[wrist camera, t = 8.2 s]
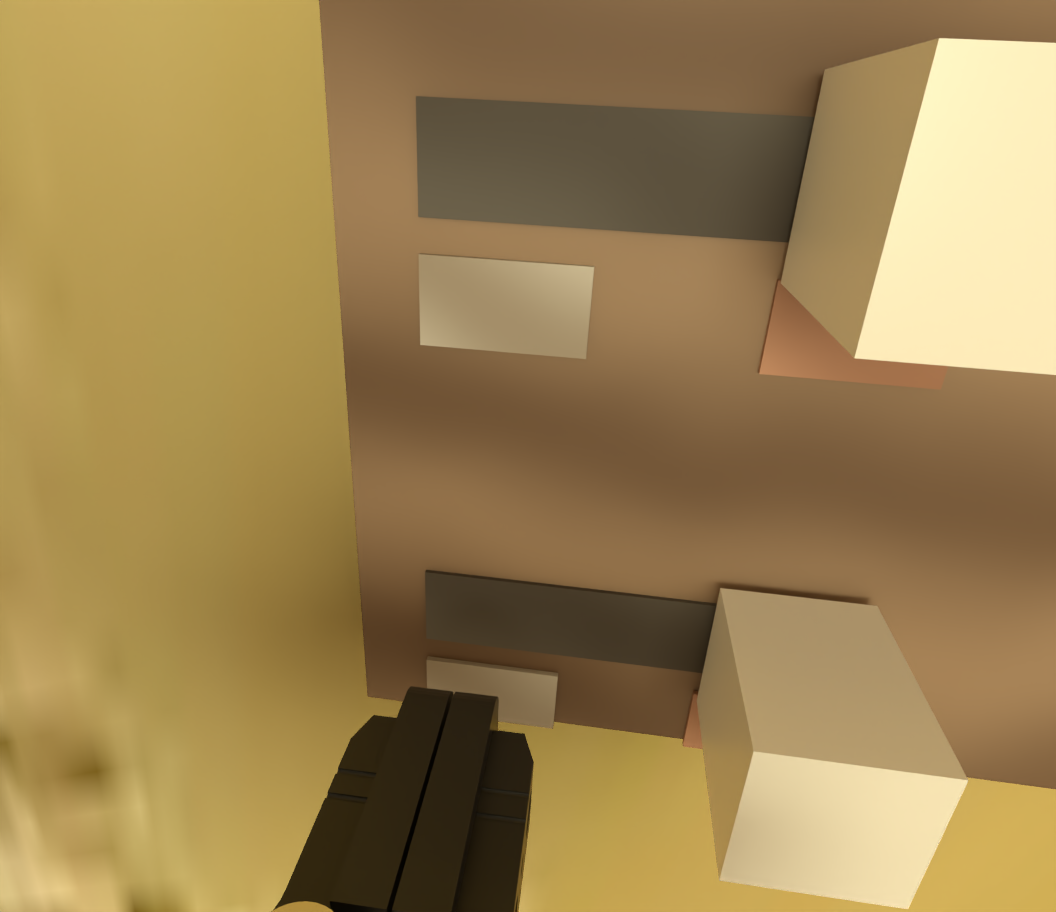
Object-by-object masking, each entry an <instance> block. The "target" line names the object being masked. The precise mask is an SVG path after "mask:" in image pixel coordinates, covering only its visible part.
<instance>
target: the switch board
mask: <svg viewBox="0 0 1056 912" xmlns="http://www.w3.org/2000/svg"><path fill="white" fill-rule="evenodd" d="M319 5H320V20H321V34H322V48H323V63H324V77H325V91H326V106H327V120H328V134H329V149H330V163H331V177H332V192H333V206H334V220H335V234H336V249H337V263H338V277H339V292H340V306H341V320H342V335H343V349H344V363H345V378H346V392H347V406H348V421H349V435H350V449H351V464H352V478H353V492H354V507H355V521H356V535H357V550H358V564H359V578H360V593H361V607H362V621H363V635H364V650H365V664H366V678H367V693H368V697H375V698H383V699H390V700H397V701H403V700H404V698H405V695H406V692H407V690H408V689H409V687H411V686H413V687H421V688H430V689H438V690H446V691H453V692H454V693H455V692H464V693H472V694H481V695H489V696H497V697H498V699H499V708H498V721H500V722H508V723H515V724H522V725H530V726H537V727H545V728H552V729H553V725H554V722H561V723H568V724H576V725H583V726H590V727H598V728H605V729H613V730H620V731H628V732H635V733H642V734H650V735H657V736H665V737H672V738H680V739H683V746H685V747H692V748H699V749H703V747H702V739H701V730H700V722H699V714H698V706H697V697H698V692H699V688H700V683H701V678H702V673H703V668H704V664H705V659H706V654H707V649H708V645H709V640H710V635H711V630H712V625H713V621H714V616H715V611H716V606H717V601H718V597H719V592H720V588H725V589H734V590H742V591H751V592H760V593H769V594H777V595H786V596H795V597H804V598H812V599H821V600H830V601H838V602H847V603H856V604H865V605H873V606H878V608H879V610H880V612H881V614H882V616H883V618H884V620H885V622H886V624H887V625H888V627H889V629H890V631H891V633H892V635H893V637H894V639H895V641H896V643H897V645H898V647H899V648H900V650H901V652H902V654H903V656H904V658H905V660H906V662H907V664H908V666H909V668H910V669H911V671H912V673H913V675H914V677H915V679H916V681H917V683H918V685H919V687H920V689H921V691H922V692H923V694H924V696H925V698H926V700H927V702H928V704H929V706H930V708H931V710H932V712H933V713H934V715H935V717H936V719H937V721H938V723H939V725H940V727H941V729H942V731H943V733H944V735H945V736H946V738H947V740H948V742H949V744H950V746H951V748H952V750H953V752H954V754H955V756H956V757H957V759H958V761H959V763H960V765H961V767H962V769H963V771H964V773H965V775H966V777H969V778H977V779H984V780H991V781H999V782H1006V783H1014V784H1021V785H1029V786H1036V787H1043V788H1051V789H1056V375H1050V374H1038V373H1026V372H1014V371H1001V370H989V369H977V368H965V367H953V366H941V365H929V364H917V363H905V362H893V361H881V360H869V359H857V358H854V357H853V356H852V355H851V354H850V353H849V352H848V351H847V350H846V349H845V348H844V347H843V346H842V345H841V344H840V343H839V342H838V341H837V340H836V339H835V338H834V337H833V336H832V335H831V334H830V333H829V332H828V331H827V330H826V329H825V328H824V327H823V326H822V325H821V324H820V323H819V322H818V321H817V320H816V319H815V318H814V317H813V316H812V315H811V313H810V312H809V311H808V310H807V309H806V308H805V307H804V306H803V305H802V304H801V303H800V302H799V301H798V300H797V299H796V298H795V297H794V296H793V295H792V294H791V293H790V292H789V291H788V290H787V289H786V288H785V287H784V286H783V285H782V284H781V279H782V274H783V269H784V264H785V259H786V254H787V250H788V245H789V240H790V235H791V230H792V225H793V221H794V216H795V211H796V206H797V201H798V196H799V192H800V187H801V182H802V177H803V172H804V167H805V163H806V158H807V153H808V148H809V143H810V138H811V134H812V129H813V124H814V119H815V114H816V109H817V104H818V100H819V95H820V90H821V85H822V80H823V75H824V71H825V69H828V68H832V67H835V66H839V65H843V64H846V63H850V62H854V61H857V60H861V59H865V58H868V57H872V56H876V55H879V54H883V53H887V52H890V51H894V50H898V49H901V48H905V47H909V46H912V45H916V44H919V43H923V42H927V41H930V40H934V39H938V38H949V39H973V40H997V41H1022V42H1046V43H1056V0H319Z"/></svg>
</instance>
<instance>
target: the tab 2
mask: <svg viewBox="0 0 1056 912" xmlns="http://www.w3.org/2000/svg"><path fill="white" fill-rule="evenodd" d="M697 706H698V714H699V722H700V730H701V739H702V747H703V755H704V763H705V771H706V779H707V787H708V795H709V803H710V811H711V819H712V827H713V835H714V843H715V851H716V860H717V868H718V876H719V881H726V882H733V883H739V884H746V885H752V886H759V887H765V888H772V889H778V890H785V891H792V892H798V893H805V894H811V895H818V896H824V897H831V898H838V899H844V900H851V901H857V902H864V903H870V904H877V905H883V906H890V907H897V908H903V909H908V908H909V906H910V904H911V901H912V899H913V897H914V895H915V893H916V891H917V889H918V887H919V884H920V882H921V880H922V878H923V876H924V874H925V872H926V870H927V867H928V865H929V863H930V861H931V859H932V857H933V855H934V853H935V850H936V848H937V846H938V844H939V842H940V840H941V838H942V836H943V833H944V831H945V829H946V827H947V825H948V823H949V821H950V819H951V816H952V814H953V812H954V810H955V808H956V806H957V804H958V802H959V799H960V797H961V795H962V793H963V791H964V789H965V787H966V785H967V783H968V779H967V777H966V775H965V773H964V771H963V769H962V767H961V765H960V763H959V761H958V759H957V757H956V756H955V754H954V752H953V750H952V748H951V746H950V744H949V742H948V740H947V738H946V736H945V735H944V733H943V731H942V729H941V727H940V725H939V723H938V721H937V719H936V717H935V715H934V713H933V712H932V710H931V708H930V706H929V704H928V702H927V700H926V698H925V696H924V694H923V692H922V691H921V689H920V687H919V685H918V683H917V681H916V679H915V677H914V675H913V673H912V671H911V669H910V668H909V666H908V664H907V662H906V660H905V658H904V656H903V654H902V652H901V650H900V648H899V647H898V645H897V643H896V641H895V639H894V637H893V635H892V633H891V631H890V629H889V627H888V625H887V624H886V622H885V620H884V618H883V616H882V614H881V612H880V610H879V608H878V606H873V605H865V604H856V603H847V602H838V601H830V600H821V599H812V598H804V597H795V596H786V595H777V594H769V593H760V592H751V591H742V590H734V589H725V588H720V592H719V597H718V601H717V606H716V611H715V616H714V621H713V625H712V630H711V635H710V640H709V645H708V649H707V654H706V659H705V664H704V668H703V673H702V678H701V683H700V688H699V692H698V697H697Z"/></svg>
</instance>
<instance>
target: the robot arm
mask: <svg viewBox="0 0 1056 912" xmlns="http://www.w3.org/2000/svg"><path fill="white" fill-rule="evenodd" d="M498 708H499V699H498V697H497V696H489V695H481V694H472V693H464V692H455V693H454V692H453V691H446V690H438V689H430V688H421V687H413V686H411V687H409V689H408V690H407V692H406V695H405V698H404V700H403V703H402V706H401V708H400V711H399V714H398V717H397V718H392V717H384V716H376V715H373V716H372V717H371V718H370V720H369V721H368V722H367V723H366V724H365V725H364V726H363V727H362V728H361V729H360V730H359V731H358V732H357V733H356V734H355V735H354V736H353V737H352V738H351V739H350V742H349V744H348V746H347V749H346V751H345V753H344V756H343V758H342V760H341V763H340V765H339V767H338V772H337V774H335V776H334V779H333V781H332V783H331V786H330V788H329V790H328V795H327V798H325V800H324V802H323V804H322V807H321V809H320V811H319V814H318V816H317V818H316V821H315V823H314V825H313V828H312V830H311V832H310V835H309V837H308V839H307V842H306V844H305V846H304V848H303V851H302V853H301V855H300V858H299V860H298V862H297V865H296V867H295V869H294V872H293V874H292V876H291V879H290V881H289V883H288V886H287V888H286V890H285V892H284V894H283V896H282V898H281V900H280V901H279V903H278V904H277V906H276V907H275V909H274V910H273V911H271V912H518V910H519V902H520V894H521V885H522V878H523V870H524V862H525V854H526V846H527V839H528V831H529V822H530V807H531V792H532V778H533V763H534V762H533V759H532V756H531V753H530V750H529V747H528V744H527V741H526V737H525V734H521V733H513V732H505V731H498Z"/></svg>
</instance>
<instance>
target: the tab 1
mask: <svg viewBox="0 0 1056 912" xmlns="http://www.w3.org/2000/svg"><path fill="white" fill-rule="evenodd" d="M781 284H782V285H783V286H784V287H785V288H786V289H787V290H788V291H789V292H790V293H791V294H792V295H793V296H794V297H795V298H796V299H797V300H798V301H799V302H800V303H801V304H802V305H803V306H804V307H805V308H806V309H807V310H808V311H809V312H810V313H811V315H812V316H813V317H814V318H815V319H816V320H817V321H818V322H819V323H820V324H821V325H822V326H823V327H824V328H825V329H826V330H827V331H828V332H829V333H830V334H831V335H832V336H833V337H834V338H835V339H836V340H837V341H838V342H839V343H840V344H841V345H842V346H843V347H844V348H845V349H846V350H847V351H848V352H849V353H850V354H851V355H852V356H853V357H854V358H857V359H869V360H881V361H893V362H905V363H917V364H929V365H941V366H953V367H965V368H977V369H989V370H1001V371H1014V372H1026V373H1038V374H1050V375H1056V43H1046V42H1022V41H997V40H973V39H949V38H938V39H934V40H930V41H927V42H923V43H919V44H916V45H912V46H909V47H905V48H901V49H898V50H894V51H890V52H887V53H883V54H879V55H876V56H872V57H868V58H865V59H861V60H857V61H854V62H850V63H846V64H843V65H839V66H835V67H832V68H828V69H825V71H824V75H823V80H822V85H821V90H820V95H819V100H818V104H817V109H816V114H815V119H814V124H813V129H812V134H811V138H810V143H809V148H808V153H807V158H806V163H805V167H804V172H803V177H802V182H801V187H800V192H799V196H798V201H797V206H796V211H795V216H794V221H793V225H792V230H791V235H790V240H789V245H788V250H787V254H786V259H785V264H784V269H783V274H782V279H781Z"/></svg>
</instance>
